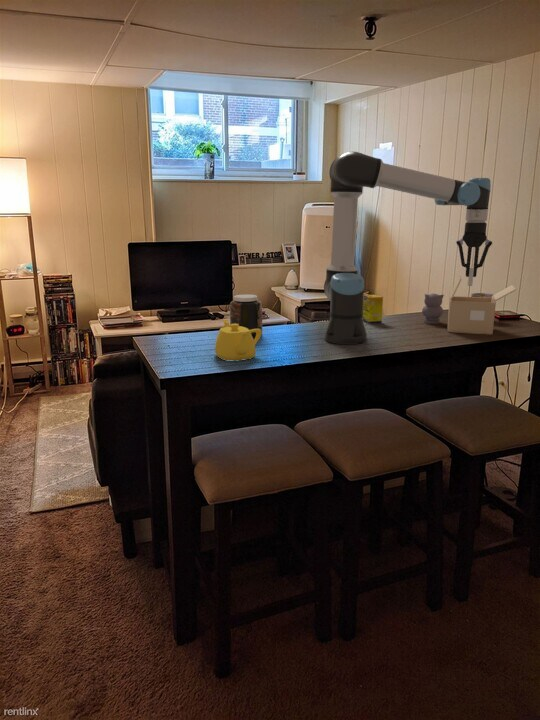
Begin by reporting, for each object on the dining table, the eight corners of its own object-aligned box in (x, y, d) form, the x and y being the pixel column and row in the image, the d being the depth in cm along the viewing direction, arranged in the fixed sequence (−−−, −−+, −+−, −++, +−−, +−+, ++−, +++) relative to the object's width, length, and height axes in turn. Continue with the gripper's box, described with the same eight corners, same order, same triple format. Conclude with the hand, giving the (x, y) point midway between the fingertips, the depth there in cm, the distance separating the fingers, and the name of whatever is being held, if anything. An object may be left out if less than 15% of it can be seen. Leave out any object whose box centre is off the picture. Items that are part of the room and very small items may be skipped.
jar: (243, 340, 200) (242, 299, 195) (224, 335, 208) (223, 295, 204) (268, 335, 207) (268, 296, 203) (249, 330, 215) (248, 292, 211)
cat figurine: (441, 320, 231) (443, 292, 228) (443, 324, 224) (446, 295, 221) (420, 320, 233) (422, 291, 229) (422, 324, 225) (424, 294, 222)
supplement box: (362, 320, 232) (363, 295, 229) (375, 319, 234) (376, 294, 231) (368, 323, 227) (370, 297, 224) (381, 322, 228) (383, 296, 225)
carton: (447, 332, 211) (450, 301, 208) (447, 325, 222) (449, 296, 219) (492, 334, 207) (495, 303, 203) (489, 327, 218) (492, 297, 215)
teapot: (274, 362, 173) (274, 328, 170) (226, 367, 167) (225, 333, 164) (250, 346, 192) (250, 315, 189) (207, 350, 187) (206, 319, 184)
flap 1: (451, 300, 208) (450, 299, 208) (450, 295, 218) (449, 295, 218) (461, 279, 205) (460, 279, 205) (460, 275, 215) (459, 275, 215)
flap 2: (491, 296, 214) (491, 297, 214) (494, 300, 204) (494, 301, 204) (511, 284, 211) (512, 285, 211) (515, 288, 201) (516, 290, 201)
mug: (497, 320, 230) (500, 295, 228) (479, 322, 227) (481, 297, 224) (477, 315, 241) (479, 291, 238) (460, 317, 238) (462, 292, 235)
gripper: (457, 222, 202) (452, 286, 208) (495, 222, 198) (489, 287, 205) (457, 221, 209) (451, 283, 215) (493, 221, 205) (487, 284, 212)
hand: (469, 285), depth 210 cm, fingers closed
